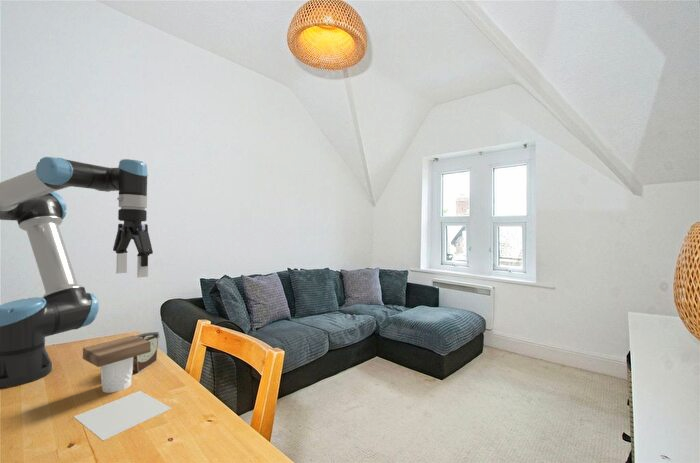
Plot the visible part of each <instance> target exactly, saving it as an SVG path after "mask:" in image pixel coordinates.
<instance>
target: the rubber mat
mask: <svg viewBox="0 0 700 463" xmlns="http://www.w3.org/2000/svg"><path fill="white" fill-rule="evenodd" d="M171 409H173V408H172V407H170V406H168V405H167V404H165V403H163V402H161V401H160V400H158V399H157V398H154V397H153V396H150V395H149V394H147V393H145V392H143V391H141V390H139V391H136V392H133V393H131V394H129V395H126V396H123V397H121V398H120V397H119V398H118V399H115V400H113V401H110V402H107V403H105V404H103V405H100V406H97V407H95V408H93V409H90V410H89V409H88V410H87V411H85V412H82V413H79V414H77V415H74V416H73V418H74V419H75V420H77V421H78V422H79V423H80V424H82V425H83V426H84V427H85V428H87V429H88V430H89V431H90V432H92V433H93V435H95V436H96V437H98V439H100V440H101V441H106V440H109V438H112V437H114V436H116V435H118V434H120V433H123V432H125V431H127V430H129V429H131V428H133V427H135V426H138V425H140V424H141V423H143V422H146V421H148V420H151V419H152V418H154V417H156V416H159V415H161V414H164V413H165V412H168V411H170V410H171Z"/></svg>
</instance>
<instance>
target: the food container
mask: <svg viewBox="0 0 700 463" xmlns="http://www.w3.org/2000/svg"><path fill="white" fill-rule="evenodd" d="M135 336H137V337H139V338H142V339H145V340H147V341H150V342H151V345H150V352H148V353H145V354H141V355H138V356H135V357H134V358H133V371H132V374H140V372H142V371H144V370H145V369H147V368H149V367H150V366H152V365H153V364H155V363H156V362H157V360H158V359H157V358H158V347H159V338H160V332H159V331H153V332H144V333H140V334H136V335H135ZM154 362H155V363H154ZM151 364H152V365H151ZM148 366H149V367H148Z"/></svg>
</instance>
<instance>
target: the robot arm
mask: <svg viewBox="0 0 700 463" xmlns="http://www.w3.org/2000/svg"><path fill="white" fill-rule="evenodd" d="M148 176H149V175H148V166H147V164H146V163H145V161H141V160H137V159H129V158H128V159H127V158H123V159H120V160H119V162H118V167H107V166H102V165H96V164H91V163H85V162H80V161H75V160H70V159H64V158H63V157H52V156H51V157H50V156H44V157H42V158H40V159H39V161H38V162H37V163H36V166H35V169H33V170H29V171H28V172H27V171H26V172H25V173H22V174H20V175H17V176H13V177H11V178H8V179H6V180H3V181H0V221H16V222H17V224H18V228H19V229H21V231H22V230H23V231H25V232H26V233H27V237H28V240H29V244H30V246H31V249H32V250H31V251H32V253H33V257H34V260H35V262H36V266H37V270H38V271H39V275H40V278H41V281H42V285H43V287H44V288H43V289H44V294H43V295H42V297H41V296H40V297H37V296H36V297H35V296H34V297H29V298H21V299H16V300H12V301H9V302H5V303H2V304H0V387H5V388H10V387H11V388H12V387H17V386H19V385H23V384H27V383H31V382H33V381H36V380H39V379H42V378H43V377H45V376H47V375H49V374H50V373H51V372H52V370H53V363H52V362H53V361H52V360H51V358H50V355H49V353H48V351H47V349H46V337H49V336H53V335H58V334H60V333H65V332H69V331H72V330H78V329H80V328H84V327H86V326H89V325H91V324H92V323H93V322H94V321H95V319H96V318H97V317H98V316H97V315H98V313H99V308H100V305H99V300H98V298H97V296H96V295H94V293H90V292H86V287H85V286H82V285H80V284H78V282H77V281H78V280H77V278H76V275H75V273H74V268H73V266H72V263H71V260H70V256H69V253H68V251H67V248H66V244H65V242H64V239H63V238H64V237H63V235H62V232H61V230H60V225H61V224H62V223H63V220H64V219H65V217H66V215H67V204H66V201H65V200H64V198H63V197H62V196H61V194H59V193H58V192H57V191H60V190H63V189H66V188H70V187H74V188H82V189H90V190H95V191H99V192H105V193H106V192H108V193H109V192H118V197H117V201H118V207H119V210H118V212H117V213H118V214H117V219H118V221H120V222H123V223H118V225H117V232H116V235H115V240H114V244H113V247H112V248H113V249H112V250H113V252H115V253H116V267H115V269H116V272H115V273H116V274H127V273H128V268H127V267H128V247H129V245H130V243H131V240H133V243H134V245H135V247H136V248H135V249H136V250H137V252H138V253H137V255H136V257H137V260H136V261H137V264H136V265H137V266H136V267H137V273H136V275H137V276H136V277H137V278H138V279H139V278H145V277H146V278H147V277H148V276H149V256H150V255H153V253H154V251H153V248H152V243H151V239H150V234H149V227H148V226H149V225H148V224H147V223H142V222H146V221H147V217H148V216H147V214H148V213H147V212H148V211H147V210H146V209H147V208H148Z"/></svg>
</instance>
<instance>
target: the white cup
mask: <svg viewBox="0 0 700 463" xmlns="http://www.w3.org/2000/svg"><path fill="white" fill-rule="evenodd" d="M133 358H134V357H131V358H128V359H125V360H121V361H118V362H115V363H111V364H108V365H105V366H101V367H100V382H101V386H102V387H101V391H102V392H104V393H106V394H107V393H109V394H110V393H117V392H120V391H124V390H126V389H127V388H129V387H131V386H132V377H133V372H132V371H133Z"/></svg>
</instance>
